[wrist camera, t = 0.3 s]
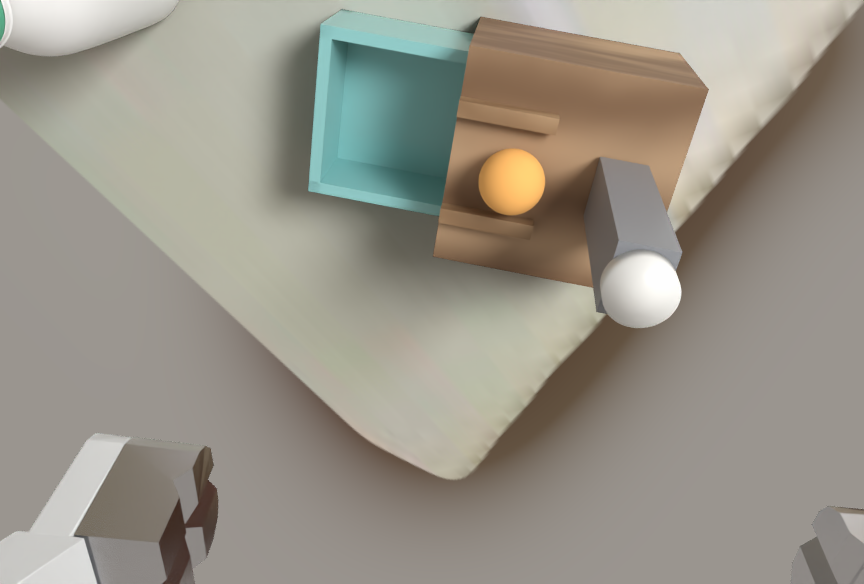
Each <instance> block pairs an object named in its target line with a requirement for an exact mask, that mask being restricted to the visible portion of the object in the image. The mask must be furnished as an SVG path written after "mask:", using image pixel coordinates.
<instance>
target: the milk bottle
mask: <svg viewBox="0 0 864 584" xmlns="http://www.w3.org/2000/svg"><path fill="white" fill-rule="evenodd" d="M178 1H179V0H0V48H1V47H2V46H6V47H9V48H11V49H14V50H17V51H20V52H23V53H26V54H31V55H37V56H62V55H69V54H74V53H77V52H80V51H84V50H87V49H90V48H93V47H96V46H99V45H101V44H104V43H107V42H110V41H112V40H115V39H118V38H120V37H123V36H125V35H128V34H131V33H133V32H136V31H138V30H141V29H143V28H146V27H148V26H151V25H153V24H155V23H157V22H159V21H161V20H163V19H165V18H166V17H167V16H168V15H169V14H170V13H171V12H172V11H173V10H174V9H175V7H176V5H177V4H178Z"/></svg>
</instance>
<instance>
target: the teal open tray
mask: <svg viewBox="0 0 864 584" xmlns="http://www.w3.org/2000/svg"><path fill="white" fill-rule="evenodd" d="M473 35H474V34H473V33H467V32H462V31H456V30H451V29H446V28H440V27H435V26H429V25H424V24H418V23H413V22H408V21H402V20H397V19H391V18H386V17H381V16H375V15H370V14H364V13H359V12H354V11H348V10H343V9H342V10H340V11H339V12H337V13H336V14H334V15H333V16H332V17H330V18H329V19H327V20H326V21H324V22H323V23H321V26H320V40H319V53H318V66H317V80H316V93H315V107H314V120H313V134H312V147H311V160H310V174H309V187H308V191H311V192H316V193H321V194H326V195H331V196H337V197H342V198H347V199H352V200H357V201H363V202H368V203H373V204H378V205H383V206H389V207H394V208H399V209H404V210H409V211H415V212H420V213H425V214H430V215H435V216H439V215H440V209H441V205H442V201H443V196H444V190H445V184H446V178H447V173H448V167H449V161H450V155H451V149H452V144H453V138H454V132H455V126H456V121H457V117H456V116H457V111H458V105H459V100H460V97H461V92H462V86H463V80H464V75H465V69H466V63H467V57H468V51H469V46H470V43H471V40H472V38H473Z"/></svg>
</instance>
